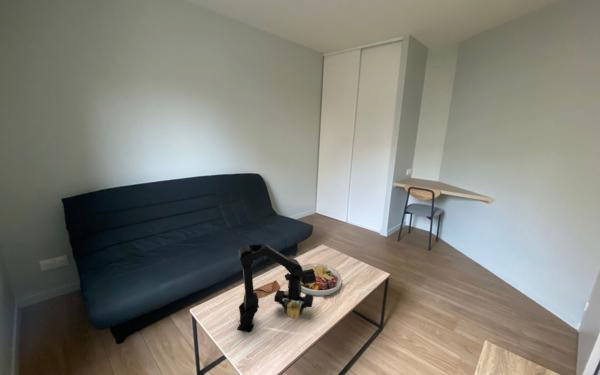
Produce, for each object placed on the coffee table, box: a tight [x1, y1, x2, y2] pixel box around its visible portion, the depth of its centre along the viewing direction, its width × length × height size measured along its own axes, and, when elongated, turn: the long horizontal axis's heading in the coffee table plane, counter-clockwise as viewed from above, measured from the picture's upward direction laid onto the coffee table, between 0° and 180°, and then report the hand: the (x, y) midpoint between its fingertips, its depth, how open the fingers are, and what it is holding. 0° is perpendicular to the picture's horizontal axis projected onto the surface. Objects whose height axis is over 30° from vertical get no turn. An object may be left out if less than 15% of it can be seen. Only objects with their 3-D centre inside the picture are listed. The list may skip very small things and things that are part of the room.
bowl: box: [300, 262, 343, 297], centre depth 147 cm, size 30×30×8 cm
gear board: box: [276, 294, 302, 307], centre depth 129 cm, size 8×16×6 cm, turn 79°
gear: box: [286, 302, 301, 319], centre depth 120 cm, size 7×7×5 cm
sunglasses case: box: [253, 279, 281, 299], centre depth 137 cm, size 18×7×7 cm, turn 130°
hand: (293, 313), depth 120 cm, fingers closed on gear, 7 cm apart
